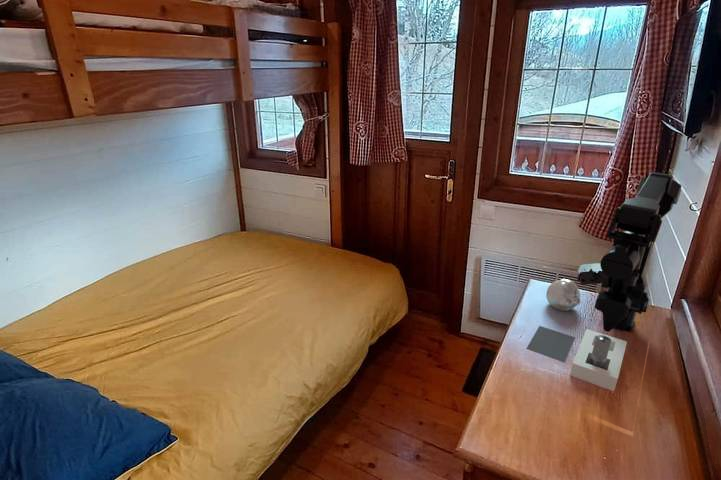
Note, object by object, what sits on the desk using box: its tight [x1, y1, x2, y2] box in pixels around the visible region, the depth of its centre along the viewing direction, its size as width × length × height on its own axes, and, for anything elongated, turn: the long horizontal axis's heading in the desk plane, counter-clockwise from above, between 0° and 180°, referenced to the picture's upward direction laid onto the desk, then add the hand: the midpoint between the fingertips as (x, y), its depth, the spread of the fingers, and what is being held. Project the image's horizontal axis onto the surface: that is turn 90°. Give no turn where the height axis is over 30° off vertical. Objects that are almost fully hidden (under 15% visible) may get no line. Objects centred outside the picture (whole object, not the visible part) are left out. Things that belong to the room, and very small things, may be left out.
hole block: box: [569, 329, 628, 392], centre depth 103 cm, size 16×9×4 cm, turn 144°
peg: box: [589, 334, 611, 369], centre depth 99 cm, size 3×3×10 cm
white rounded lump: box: [545, 278, 581, 312], centre depth 124 cm, size 9×10×10 cm
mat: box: [525, 325, 576, 363], centre depth 111 cm, size 12×9×1 cm
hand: (609, 320), depth 100 cm, fingers open, 9 cm apart
